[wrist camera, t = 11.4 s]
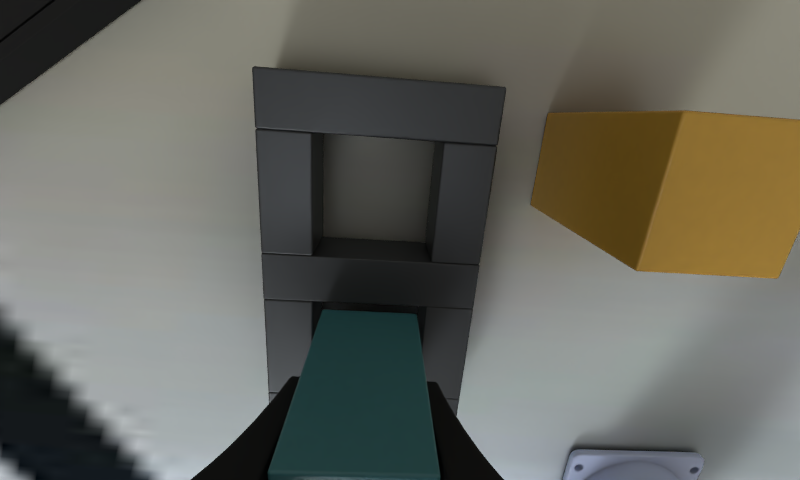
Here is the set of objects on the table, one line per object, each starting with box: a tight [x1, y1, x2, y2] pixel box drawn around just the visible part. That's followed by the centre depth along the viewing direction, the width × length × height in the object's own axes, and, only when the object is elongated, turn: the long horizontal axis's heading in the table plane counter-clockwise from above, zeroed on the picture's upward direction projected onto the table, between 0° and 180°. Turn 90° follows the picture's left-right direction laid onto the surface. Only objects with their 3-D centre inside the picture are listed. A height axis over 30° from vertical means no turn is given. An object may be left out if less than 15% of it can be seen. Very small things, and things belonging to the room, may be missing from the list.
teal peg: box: [268, 309, 440, 480], centre depth 13 cm, size 4×4×8 cm
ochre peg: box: [531, 111, 800, 278], centre depth 13 cm, size 4×4×8 cm
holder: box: [252, 66, 506, 415], centre depth 16 cm, size 15×9×2 cm, turn 176°
